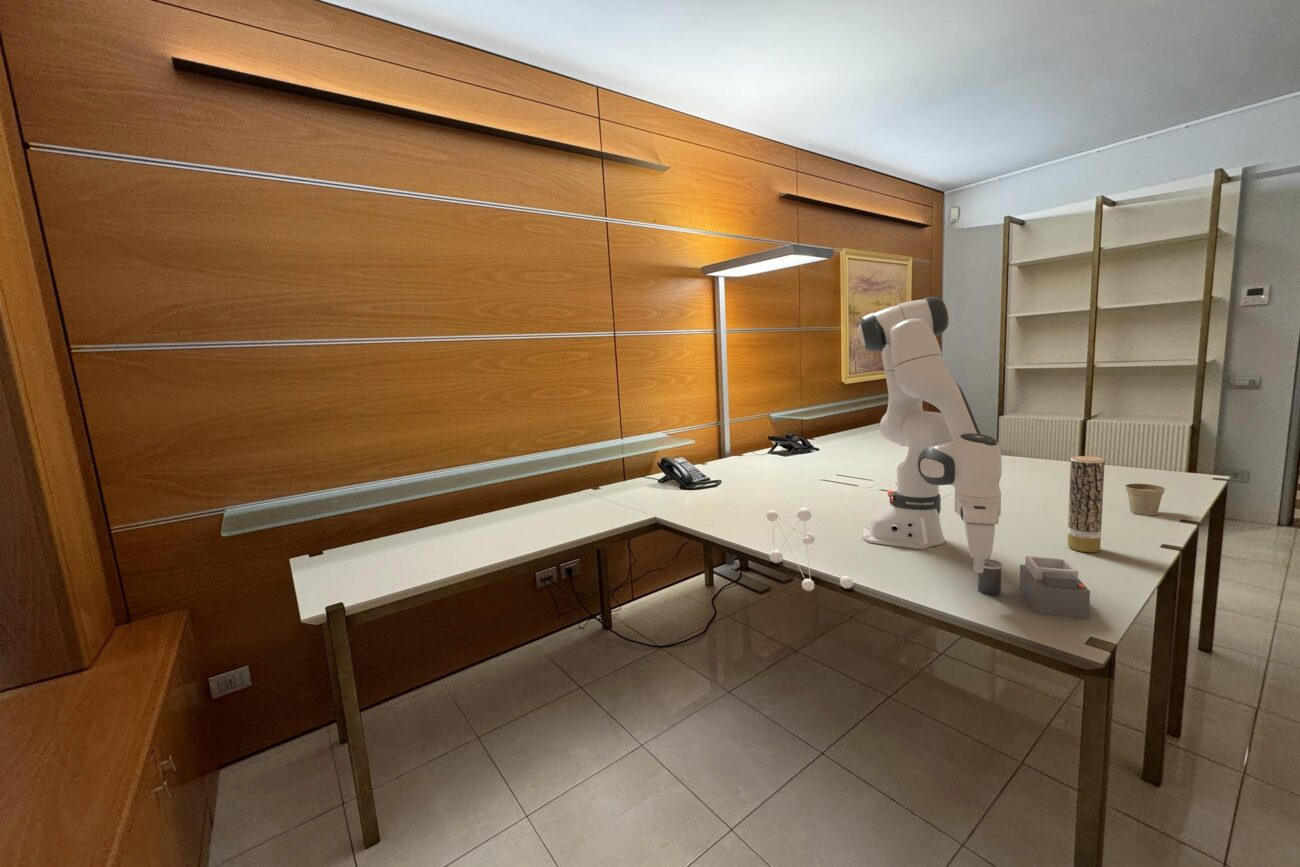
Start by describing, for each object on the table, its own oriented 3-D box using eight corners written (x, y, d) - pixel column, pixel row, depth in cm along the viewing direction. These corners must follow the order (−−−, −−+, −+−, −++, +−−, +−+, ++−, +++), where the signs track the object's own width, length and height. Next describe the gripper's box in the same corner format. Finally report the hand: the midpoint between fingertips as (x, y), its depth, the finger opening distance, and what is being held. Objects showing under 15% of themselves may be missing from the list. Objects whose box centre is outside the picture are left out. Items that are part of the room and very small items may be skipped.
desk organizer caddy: (1088, 618, 103) (1090, 579, 102) (1035, 613, 107) (1036, 575, 106) (1067, 593, 114) (1068, 557, 113) (1019, 589, 118) (1020, 554, 116)
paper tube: (1106, 553, 133) (1111, 460, 130) (1076, 553, 135) (1080, 461, 131) (1089, 544, 140) (1093, 455, 137) (1061, 544, 141) (1065, 456, 138)
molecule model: (791, 561, 147) (805, 502, 146) (851, 600, 124) (868, 530, 123) (750, 558, 142) (763, 496, 141) (804, 598, 119) (821, 524, 118)
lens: (979, 594, 116) (980, 565, 115) (975, 586, 120) (976, 558, 119) (1003, 597, 114) (1004, 567, 113) (998, 588, 119) (999, 560, 118)
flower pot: (1137, 518, 157) (1139, 490, 156) (1115, 509, 166) (1117, 483, 165) (1173, 517, 156) (1174, 490, 155) (1148, 508, 165) (1150, 482, 164)
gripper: (958, 493, 125) (958, 547, 127) (963, 516, 108) (963, 578, 109) (989, 495, 122) (988, 550, 124) (999, 519, 105) (998, 583, 106)
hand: (976, 563), depth 117 cm, fingers open, 8 cm apart
